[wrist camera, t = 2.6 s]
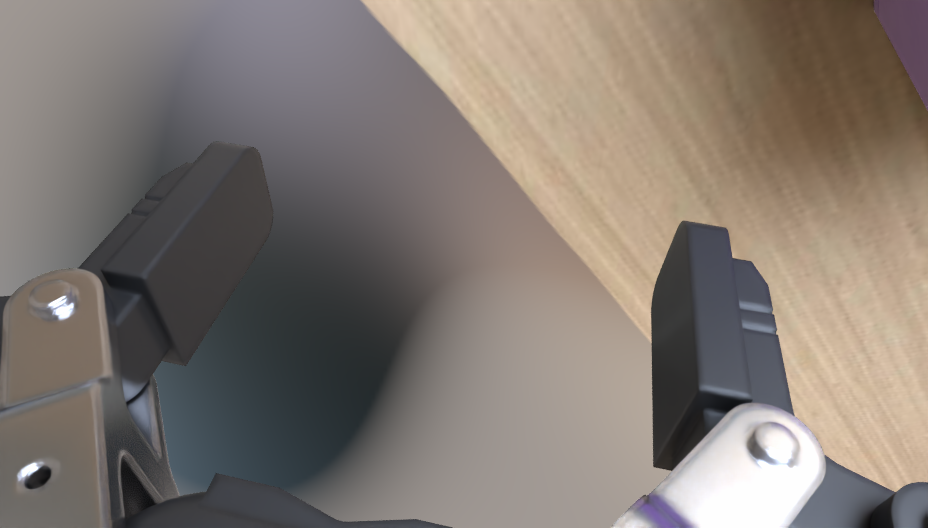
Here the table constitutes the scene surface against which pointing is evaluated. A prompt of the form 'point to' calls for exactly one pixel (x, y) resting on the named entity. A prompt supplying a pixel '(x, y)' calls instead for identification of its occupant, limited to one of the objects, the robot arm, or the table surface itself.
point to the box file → (908, 37)
